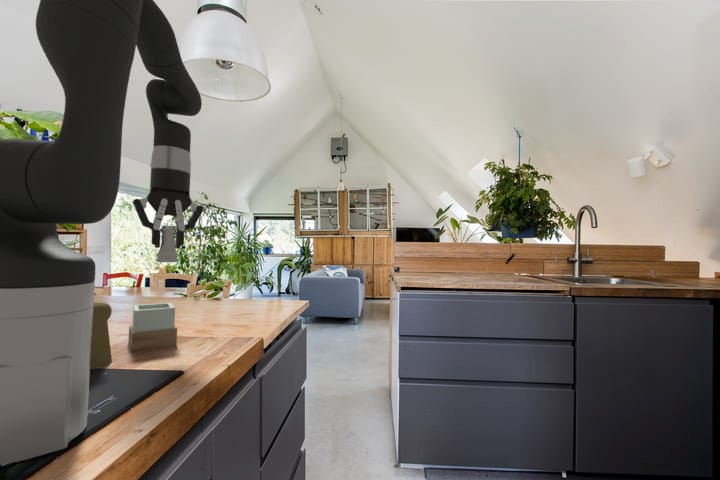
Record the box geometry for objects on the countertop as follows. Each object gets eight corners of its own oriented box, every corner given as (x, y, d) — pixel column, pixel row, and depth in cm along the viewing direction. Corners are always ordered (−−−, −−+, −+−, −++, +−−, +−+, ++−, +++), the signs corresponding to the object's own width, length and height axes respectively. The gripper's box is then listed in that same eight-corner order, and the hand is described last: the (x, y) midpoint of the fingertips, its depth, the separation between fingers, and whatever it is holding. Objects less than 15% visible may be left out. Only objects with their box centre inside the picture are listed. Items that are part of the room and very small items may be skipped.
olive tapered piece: (57, 371, 52) (61, 306, 53) (83, 359, 58) (87, 300, 59) (97, 370, 53) (101, 306, 54) (119, 358, 59) (122, 300, 60)
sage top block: (174, 328, 68) (175, 307, 68) (133, 333, 63) (134, 310, 63) (170, 321, 73) (170, 302, 73) (132, 325, 69) (133, 305, 69)
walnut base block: (176, 346, 68) (177, 328, 68) (131, 353, 62) (132, 333, 63) (170, 337, 74) (170, 321, 74) (128, 343, 69) (129, 325, 69)
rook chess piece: (167, 262, 66) (168, 225, 66) (150, 262, 67) (151, 225, 67) (183, 261, 70) (185, 226, 70) (167, 261, 71) (168, 226, 71)
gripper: (133, 160, 61) (129, 247, 61) (209, 173, 70) (206, 248, 70) (130, 167, 67) (127, 246, 67) (201, 178, 76) (198, 248, 76)
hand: (167, 247), depth 68 cm, fingers closed on rook chess piece, 3 cm apart
